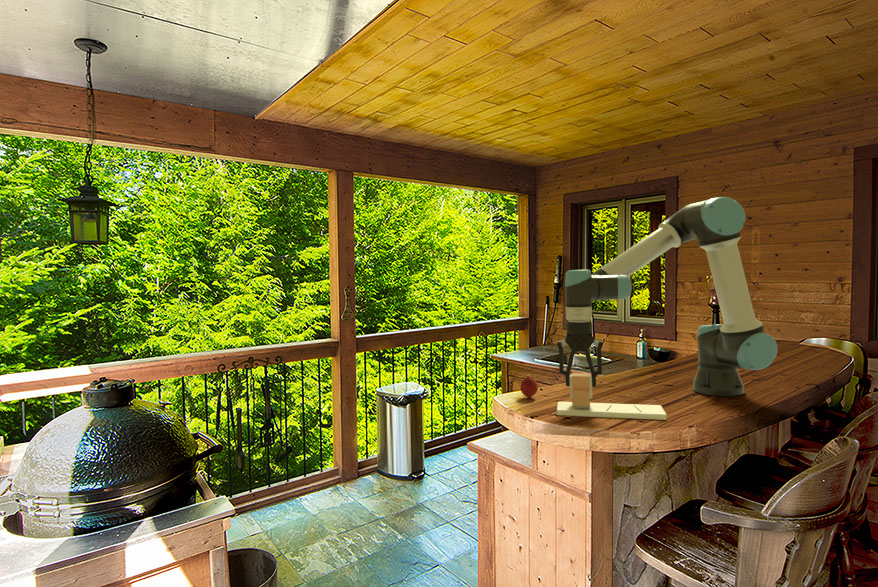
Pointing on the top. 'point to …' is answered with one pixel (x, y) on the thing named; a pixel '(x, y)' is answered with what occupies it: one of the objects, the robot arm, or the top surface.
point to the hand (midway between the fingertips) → (581, 396)
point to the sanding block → (580, 390)
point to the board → (613, 410)
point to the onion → (529, 387)
